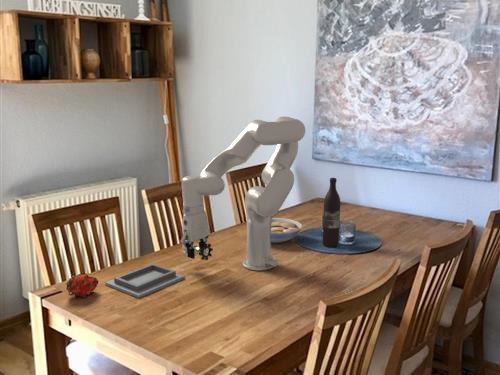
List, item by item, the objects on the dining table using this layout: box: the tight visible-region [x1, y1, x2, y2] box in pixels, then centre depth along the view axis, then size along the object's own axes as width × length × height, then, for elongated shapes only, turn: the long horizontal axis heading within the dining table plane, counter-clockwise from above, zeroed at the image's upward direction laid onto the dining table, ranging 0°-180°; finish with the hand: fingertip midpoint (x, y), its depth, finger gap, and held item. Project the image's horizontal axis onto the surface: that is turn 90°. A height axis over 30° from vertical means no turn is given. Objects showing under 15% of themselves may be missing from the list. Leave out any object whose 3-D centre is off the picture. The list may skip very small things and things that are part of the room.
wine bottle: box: [321, 177, 341, 248], centre depth 235 cm, size 7×7×30 cm
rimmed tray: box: [104, 263, 186, 299], centre depth 198 cm, size 18×22×3 cm
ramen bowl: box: [271, 217, 303, 244], centre depth 244 cm, size 25×23×8 cm
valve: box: [181, 241, 214, 261], centre depth 205 cm, size 7×7×12 cm
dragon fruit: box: [65, 273, 99, 298], centre depth 186 cm, size 8×8×12 cm
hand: (197, 254), depth 205 cm, fingers closed on valve, 5 cm apart
